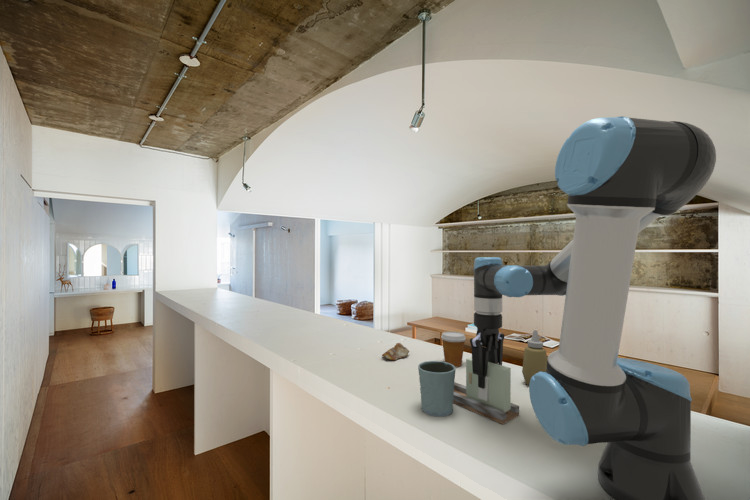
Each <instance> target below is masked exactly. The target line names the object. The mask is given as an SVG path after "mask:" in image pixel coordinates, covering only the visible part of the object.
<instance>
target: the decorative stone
mask: <svg viewBox="0 0 750 500" xmlns="http://www.w3.org/2000/svg"><path fill="white" fill-rule="evenodd" d="M409 353H410V350H409V349H408V348H407V347H406V346H404V345H403V344H402V343H401V342H397V343H396V344H395V345H394V347H391V348H389V349H387V351H385V352H384V353H383V354H382V355H381V357H382V358H384V359H387V360H391V361H397V360H399V359H402V358H406V357H407V356H408V355H409Z"/></svg>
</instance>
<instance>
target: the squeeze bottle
mask: <svg viewBox="0 0 750 500" xmlns="http://www.w3.org/2000/svg"><path fill="white" fill-rule="evenodd" d="M547 361H548V355H547V350H546V349H545V348H544V342H543V341H541V340H540V338H539V333H538V330H536V329H535V330H533V331H532V335H531V338H530V339H529V340H527V346H525V347H524V351H523V361H522V369H521V370H522V371H521V373H522V377H523V379H524V382H525V384H526V385H527V386H529V384H530V380H531V378H532V376H534V375H535V374H536V373H538V372H546V368H547Z"/></svg>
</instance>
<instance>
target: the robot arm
mask: <svg viewBox="0 0 750 500" xmlns="http://www.w3.org/2000/svg"><path fill="white" fill-rule="evenodd" d="M716 163H717V150H716V147H715V144H714V141H713V139H712V138H711V137H710V135H709V134H708V133H707V132H706V131H704V130H703V129H702V128H700V127H698V126H696V125H694V124H691V123H688V122H683V121H678V120H677V121H675V120H673V121H666V120H655V119H644V118H636V117H628V116H614V117H596V118H592V119H589V120H587V121H585V122H584V123H582V124H580V125H579V126H577V127H576V128H575V129H574V130H573V131H572V132H571V134H570V135H569V137H567V138H566V139H565V141H564V143H563V144H562V146H561V148H560V150H559V153H558V155H557V158H556V162H555V165H554V166H555V167H554V178H555V181H556V182H557V186H558V188H559V190H561V191H562V192H563V193H564V194H566V195H568V196H567V203H566V206H567V207H568V209H569V210H570V211H571V212H573V214H574V215H575V221H574V222H575V223H574V228H573V230H574V231H573V236H572V237H573V239H571V240H570V242H568V244H566V245H565V247H564V248H562V249H561V250H560V252H558V253H557V254H556V255H555V256H554V257H553V258H552V259H551V260H550V261H548V263H547V264H545V265H535V264H534V265H516V264H515V265H512V264H509V265H505V264H503V260H502V258H501V257H497V256H496V257H495V256H494V257H491V256H490V257H489V256H487V257H485V256H484V257H482V256H481V257H480V256H479V257H476V258H475V259H474V265H473V270H472V271H473V310H474V311H475V312H474V313H473V326H474V327H476V328H477V329H476V334H475V335H476V336H475V337H474V338H470V339H469V343H470V346H471V358H472V369H473V374H476V375H478V398H480V399H483V400H485V401H489V376H487V366H488V362H491V363H495V364H498V365H502V366H503V350H504V340H505V336H506V335H505V333H503V332H500V331H499V329H501V328H502V327H503V315H502V314H501V313H503V296H506V297H507V298H508V297H509V298H523V297H525V296H562V297H563V296H565V299H564V306H563V314H562V321H561V326H560V327H561V328H560V337H559V344H558V349H556V350H555V351H554V350H553V351H552V352H550V353H549V354H548V355H547V368H546V372H538V373H536V374H535V375H534V376H532V378H531V380H530V384H529V385H528V392H529V398H530V404H531V406H532V410H533V413H534V414H535V417H536V419H537V421H538V423H539V424H540V426H541V428H542V429H543V430H544V432H545V433H546V434H547V435H548V436H549V437H550V438H551V439H553V440H554V441H555V442H557V443H559V444H561V445H566V446H573V445H574V446H582V447H584V446H587V445H595V444H602V443H603V444H604V443H605V444H606V445H605V447H604V449H603V452H602V454H601V456H600V459H599V461H598V464H597V478H598V479H597V480H598V481H599V484H600V486H601V487H602V488H603V489H604V490H605V492H606V493H607V494H609V496H611V497H612V498H613V499H614V500H705V496H704V494H703V491H702V488H701V485H700V482H699V480H698V476H697V475H696V472H695V469H694V467H693V464H692V460H691V457H692V455H691V453H692V452H691V450H692V449H691V448H692V446H691V434H692V433H691V431H692V428H691V427H692V422H691V420H692V419H691V418H692V416H691V415H692V413H691V412H692V411H691V410H692V409H691V408H692V405H691V403H692V401H693V399H692V396H691V387H690V386H691V385H690V382H689V380H688V378H687V377H686V376H685V375H683V374H682V373H680V372H678V371H676V370H673V369H671V368H668V367H664V366H661V365H658V364H654V363H651V362H646V361H642V360H637V359H632V358H624V357H619V352H620V346H621V340H622V334H623V328H624V322H625V316H626V309H627V304H628V296H629V290H630V284H631V278H632V273H633V267H634V261H635V255H636V249H637V248H636V247H637V242H638V236H639V233H641V232H642V231H643V230H645V228H647V227H648V226H649V225H651V224H652V223H653V222H654V221H656V220H657V219H659V217H669V216H672V215H673V214H675V213H676V212H677V211H678V210H680V209H681V208H683V207H685V206H686V205H688V203H689V202H691V200H692V199H694V198H695V197H696V196H697V194H699V192H701V191H702V190H703V188H704V187H705V186H706V184H708V181H709V180H710V178H711V177H712V175H713V172H714V170H715V167H716Z"/></svg>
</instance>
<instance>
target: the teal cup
mask: <svg viewBox="0 0 750 500" xmlns="http://www.w3.org/2000/svg"><path fill="white" fill-rule="evenodd" d="M456 369H457V367H455V366H454V365H452V364H450V363H447V362H445V361H442V360H429V361H427V360H426V361H423V362H421V363H419V364H418V375H419V378H418V379H419V380H418V381H419V386H420V388H419V389H420V401H421V402H420V404H421V405H420V406H421V410H422V412H423V413H425V414H426V415H429V416H433V417H447V416H450V415H452V413H453V410H454V405H453V404H454V403H453V397H454V396H453V394H454V392H453V391H454V382H456V381H455V380H456V379H455V378H456Z"/></svg>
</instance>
